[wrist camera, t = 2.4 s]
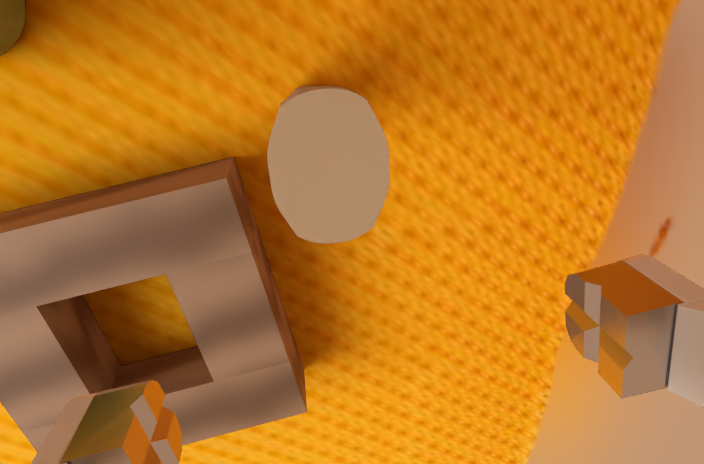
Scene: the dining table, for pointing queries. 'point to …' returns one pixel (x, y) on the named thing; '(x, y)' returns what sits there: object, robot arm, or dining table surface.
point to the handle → (328, 164)
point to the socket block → (134, 265)
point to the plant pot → (11, 22)
